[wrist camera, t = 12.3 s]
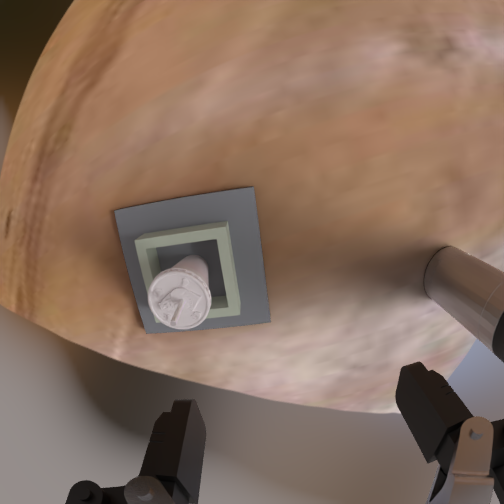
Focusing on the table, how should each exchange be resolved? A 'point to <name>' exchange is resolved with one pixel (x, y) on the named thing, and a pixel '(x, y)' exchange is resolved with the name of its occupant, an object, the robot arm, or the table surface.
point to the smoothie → (181, 294)
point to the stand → (199, 253)
